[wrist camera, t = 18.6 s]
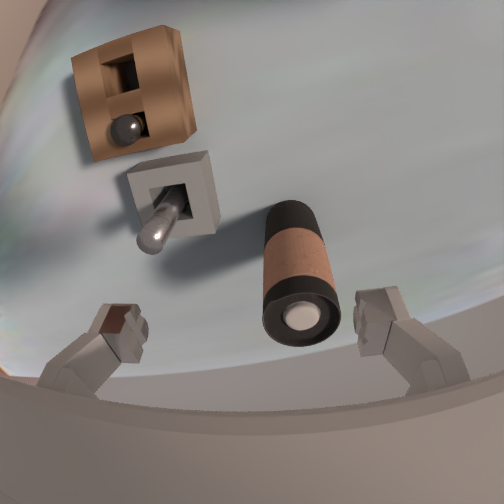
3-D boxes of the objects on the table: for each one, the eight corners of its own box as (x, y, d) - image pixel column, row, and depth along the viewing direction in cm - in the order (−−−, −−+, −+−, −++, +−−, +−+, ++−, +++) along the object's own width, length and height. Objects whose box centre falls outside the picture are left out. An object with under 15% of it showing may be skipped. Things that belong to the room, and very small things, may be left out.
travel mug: (323, 235, 46) (349, 336, 30) (275, 250, 48) (277, 355, 32) (307, 190, 43) (332, 280, 26) (256, 208, 45) (248, 305, 28)
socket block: (98, 56, 32) (70, 57, 27) (179, 31, 31) (162, 24, 25) (117, 147, 40) (94, 162, 34) (196, 130, 39) (183, 142, 33)
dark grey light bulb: (134, 109, 36) (107, 119, 30) (158, 103, 36) (135, 111, 29) (139, 133, 38) (114, 149, 32) (163, 128, 38) (142, 142, 31)
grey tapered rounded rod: (169, 182, 43) (132, 231, 31) (189, 180, 43) (158, 228, 31) (173, 201, 45) (141, 255, 33) (193, 199, 44) (166, 253, 33)
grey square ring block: (140, 162, 41) (126, 174, 37) (208, 150, 40) (200, 160, 36) (157, 223, 47) (147, 240, 42) (220, 216, 46) (215, 233, 41)
